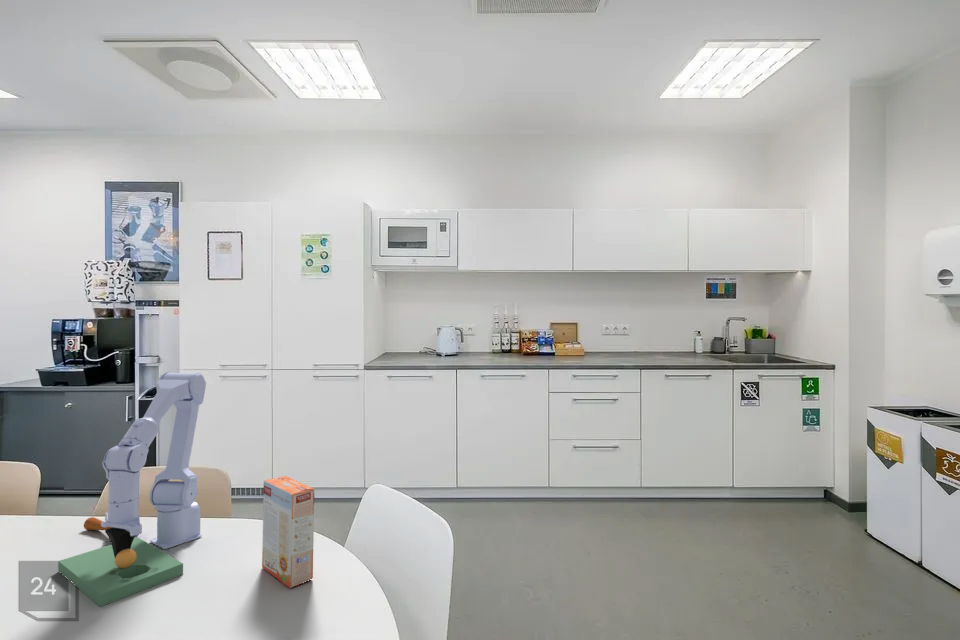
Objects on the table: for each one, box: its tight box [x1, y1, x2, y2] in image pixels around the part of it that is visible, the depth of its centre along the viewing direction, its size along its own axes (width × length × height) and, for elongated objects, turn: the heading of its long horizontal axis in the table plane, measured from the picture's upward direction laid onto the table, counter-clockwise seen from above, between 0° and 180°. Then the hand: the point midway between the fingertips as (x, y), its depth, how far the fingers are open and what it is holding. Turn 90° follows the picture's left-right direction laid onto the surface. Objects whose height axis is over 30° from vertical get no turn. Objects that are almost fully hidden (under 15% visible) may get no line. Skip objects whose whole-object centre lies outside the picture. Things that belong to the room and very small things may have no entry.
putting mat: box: [57, 536, 184, 607], centre depth 116 cm, size 16×24×2 cm, turn 56°
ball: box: [115, 549, 137, 568], centre depth 114 cm, size 4×4×4 cm
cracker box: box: [261, 475, 315, 589], centre depth 117 cm, size 14×6×21 cm, turn 47°
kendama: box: [83, 516, 140, 537], centre depth 135 cm, size 6×6×20 cm
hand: (121, 559), depth 114 cm, fingers closed, pressing on ball
